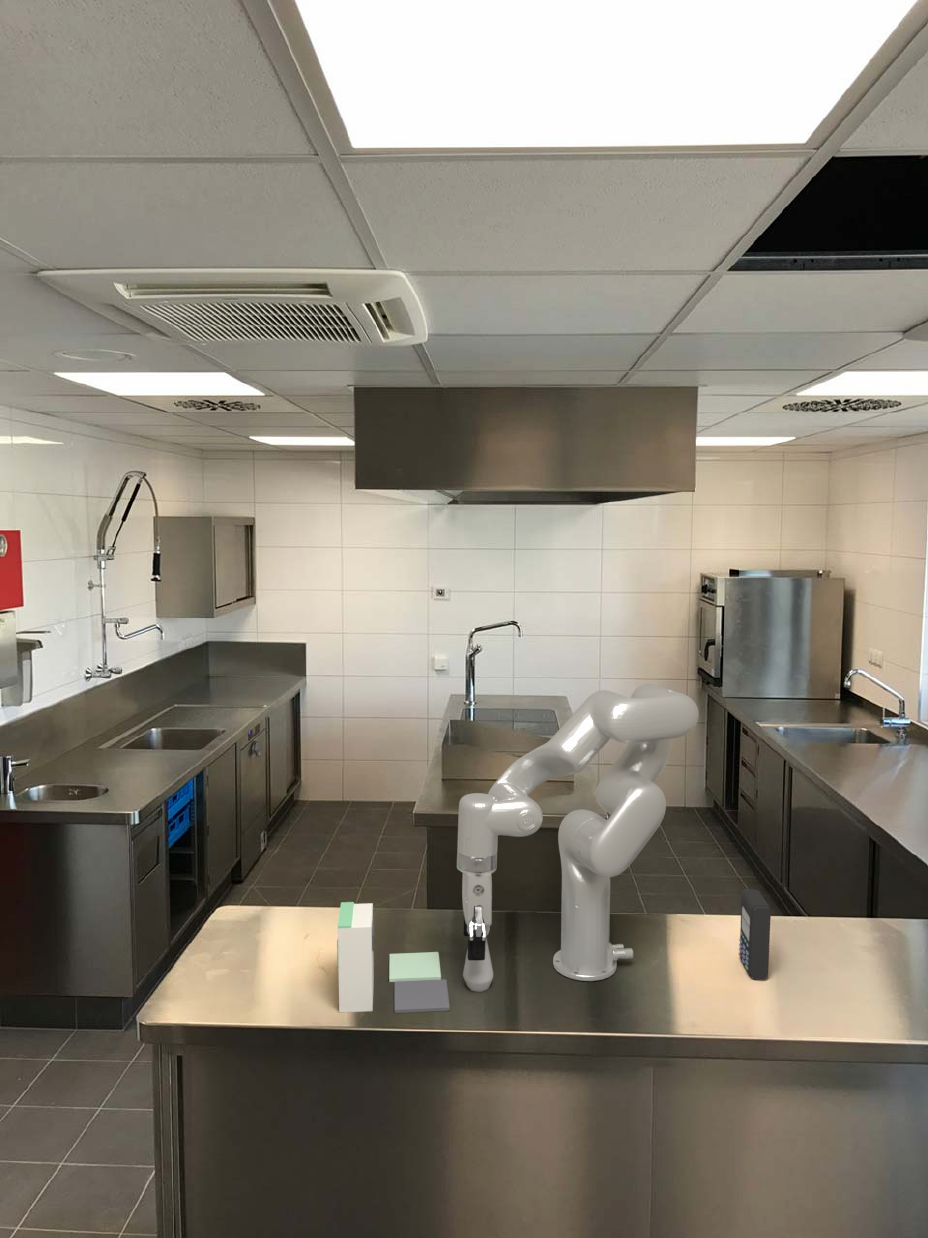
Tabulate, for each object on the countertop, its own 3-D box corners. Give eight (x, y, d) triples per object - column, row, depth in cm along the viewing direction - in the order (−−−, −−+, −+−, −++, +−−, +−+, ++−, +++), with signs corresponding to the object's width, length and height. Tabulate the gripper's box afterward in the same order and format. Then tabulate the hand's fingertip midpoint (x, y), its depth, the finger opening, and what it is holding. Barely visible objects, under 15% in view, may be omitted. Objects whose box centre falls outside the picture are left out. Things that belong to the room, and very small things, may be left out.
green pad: (438, 954, 181) (438, 952, 181) (440, 979, 171) (440, 977, 171) (389, 956, 180) (389, 954, 180) (389, 982, 170) (389, 979, 170)
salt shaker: (490, 996, 165) (490, 930, 164) (460, 992, 166) (460, 927, 165) (495, 980, 171) (495, 916, 170) (466, 977, 172) (466, 913, 171)
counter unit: (375, 982, 170) (374, 901, 168) (374, 1011, 160) (373, 925, 158) (340, 984, 170) (339, 902, 168) (337, 1012, 160) (336, 926, 158)
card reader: (736, 957, 180) (739, 887, 178) (756, 958, 179) (759, 887, 178) (748, 981, 171) (751, 906, 169) (769, 981, 170) (772, 907, 169)
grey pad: (446, 982, 170) (446, 979, 170) (449, 1010, 160) (449, 1007, 160) (394, 984, 169) (394, 981, 169) (394, 1013, 160) (394, 1010, 160)
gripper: (502, 878, 158) (498, 969, 159) (491, 844, 175) (488, 927, 176) (460, 878, 157) (457, 970, 159) (453, 844, 174) (451, 927, 176)
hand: (473, 947), depth 168 cm, fingers open, 9 cm apart
